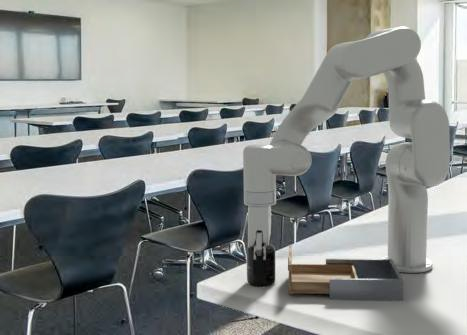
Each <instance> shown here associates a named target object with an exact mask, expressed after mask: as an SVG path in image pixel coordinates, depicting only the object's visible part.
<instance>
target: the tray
mask: <svg viewBox="0 0 467 335" xmlns="http://www.w3.org/2000/svg"><path fill="white" fill-rule="evenodd" d="M292 257H293V256H292V244H288V257H287V271H288V295H289V296H293V295H292V294H327V295H329V278H357V279H358V277H357V274H356V271H355V268H354V265H339V264H326V263H325V264H324V263H323V264H321V263H318V264H316V263H315V264H314V263H306V264H305V263H301V264H300V263H292V261H293V258H292Z"/></svg>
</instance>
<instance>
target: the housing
mask: <svg viewBox="0 0 467 335" xmlns="http://www.w3.org/2000/svg"><path fill="white" fill-rule="evenodd" d="M325 264H339V265H354V268H355V271H356V274H357V277H358V279H357V278H329V294H328V298H329V300H331V301H332V300H333V301H334V300H338V301H339V300H341V301H345V300H346V301H399V302H400V301H402V302H403V301H404V288H405V285H404V284H405V283H404V282H405V280H404V279H403V276H402V274H401V272H399V271H398V269H397V267H396V265H395V264H394V262H393V260H392V259H382V258H328V257H327V258H325Z"/></svg>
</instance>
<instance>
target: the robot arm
mask: <svg viewBox="0 0 467 335" xmlns="http://www.w3.org/2000/svg"><path fill="white" fill-rule="evenodd" d="M421 47H422V42H421V38H420V36H419V34H418V33H417V31H416V30H414V29H413V28H410V27H408V26H407V27H406V26H398V27H392V28H385V29H384V28H383V29H379V30H375V31H373V32H371V33H369V34H368V35H367V36H366V37H365V38H363V39H359V40H355V41H347V42H342V43H338V44H335V45H333V46H332V47H331V48H330V49H329V50H328V51H327V53H326V55H325V56H324V58H323V60H322V62H321V63H320V66H319V67H318V69H317V71H316V72H315V74H314V76H313V78H312V80H311V82H310V84H309V85H308V87H307V89H306V91H305V92H304V94H303V96H302V97H301V99H300V100H298V102H297V103H295V104H296V105H294V107H292V109H291V110H290V111H289V112H288V114H287V115H286V116H285V118H283V120H282V122H281V123H280V124H279V126H278V127H277V129H276V131H275V133H274V135H273V136H272V139H271V141H270V143H269V144H263V143H261V144H260V143H258V144H257V143H256V144H249V145H247V146H245V147H244V148H243V151H242V160H243V161H242V164H243V168H242V169H243V172H242V173H243V204H244V206H248V208H247V209H248V211H247V248H248V247H249V248H251V247H253V245H254V259H253V275H254V276H264V277H266V276H267V259H266V248H267V247H268V246H269V241H270V234H271V231H272V230H271V229H272V228H271V227H272V206H275V205H276V204H277V176H288V177H297V176H301V175H303V174H305V173H306V172H307V171H308V170H309V169H310V168H311V166H312V160H313V159H312V154H311V152H310V151H309V150H308V148H306V147H305V146H304V145H302V144H303V142H304V140H305V139H306V138H307V136H308V135H309V134H310V133H311V132H312V131H313V130H314V129H315V128H316V127H318V126H319V125H321V124H322V123H324V122H325V121H328V120H329V119H330V118H332V117H333V116H334V115H335V114H336V113H337V111H338V109H339V108H340V105H341V104H342V101H343V99H344V98H345V97H346V94H347V93H348V91H349V89H350V88H351V86H352V83H353V82H354V80H363V79H368V78H370V77H374V76H377V75H380V74H383V75H384V77H385V79H386V83H387V92H388V118H389V128H390V130H391V131H392V132H393V134H395V135H396V136H398V137H401V138H405V139H410V140H411V142H399V143H397V144H395V145H394V146H392V147H391V148H390V149H389V151H388V152H387V154H386V158H385V173H386V178H387V186H388V187H387V188H388V204H387V206H388V212H387V216H388V217H387V218H388V219H387V255H386V256H383V257H382V258H381V259H392V260H393V262H394V264H395V265H396V267H397V269H398V271H399V273H404V274H408V273H409V274H418V273H419V274H420V273H424V272H428V271H430V270H432V268H433V261H432V260H431V259H429V258H427V249H428V247H427V245H428V244H427V243H428V241H427V240H428V208H429V207H428V206H429V198H428V197H429V196H428V195H429V194H428V190H427V188H431V187H437V186H439V185H441V184H442V183H443V182H444V181H445V180H446V178H447V176H448V174H449V171H450V167H451V166H450V165H451V144H450V143H451V142H450V140H451V138H450V120H449V116H448V114H447V111H446V109H445V108H444V107H443V106H442V104H440V103H439V102H437V101H433V100H431V99H426V94H425V93H426V91H425V81H424V74H423V70H422V67H421V65H420V63H419V62H418V60H417V57H418V56H419V54H420V52H421V49H422V48H421ZM262 234H263V237H262ZM262 244H264V246H262ZM262 250H263V251H262Z"/></svg>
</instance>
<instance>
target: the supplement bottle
mask: <svg viewBox="0 0 467 335" xmlns="http://www.w3.org/2000/svg"><path fill="white" fill-rule="evenodd" d="M262 237H263V234H262ZM271 243H272V235H271V233H270V241H269V246H268V247H267V248H266V259H267V276H266V277H264V276H254V275H253V259H254V245H253V247H251V248H249V247H248V246H247V248H246V281H247V284H248V285H250V286H251V287H255V288H267V287H272V286H273V285H274V284H275V283H276V248H275V246H274V245H273V244H271ZM262 246H264V244H262ZM262 251H263V250H262Z"/></svg>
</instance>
